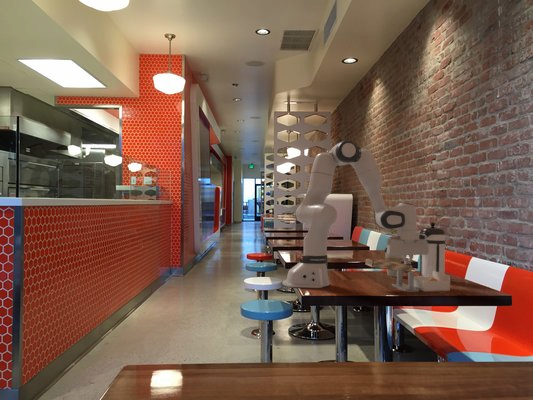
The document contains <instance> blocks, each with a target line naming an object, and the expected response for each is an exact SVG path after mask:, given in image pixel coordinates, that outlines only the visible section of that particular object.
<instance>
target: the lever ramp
mask: <svg viewBox="0 0 533 400" xmlns="http://www.w3.org/2000/svg"><path fill="white" fill-rule="evenodd" d="M365 265H366V266H369V267H371V268H377V269H384V270H385V269H386V270H387V269H391V270H400V271H402V273H403V272H404V273H406V274H408V272H416V270H417V268H414V267H413V265H411V264H405V263H404V262H401V263H398V262H390V261H386V260H380V259H372V258H366V259H365Z"/></svg>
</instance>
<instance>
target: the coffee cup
mask: <svg viewBox="0 0 533 400" xmlns="http://www.w3.org/2000/svg"><path fill="white" fill-rule="evenodd" d="M384 257H385V261H390V262H398V263H402V260H403V258H402V255H393V256H391V255H388V254H387V247H385V249H384ZM386 274H387V276H388V277H392V276H393V278H394V277H396V278H397V270H391V269H386Z"/></svg>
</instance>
